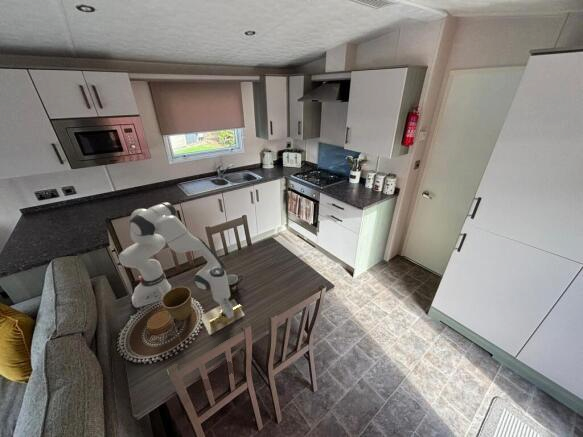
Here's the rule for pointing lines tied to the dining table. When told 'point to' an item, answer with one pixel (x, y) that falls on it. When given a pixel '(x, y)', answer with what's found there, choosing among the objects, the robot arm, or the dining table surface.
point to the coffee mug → (233, 283)
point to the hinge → (224, 317)
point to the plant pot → (178, 302)
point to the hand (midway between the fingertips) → (225, 311)
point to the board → (215, 313)
